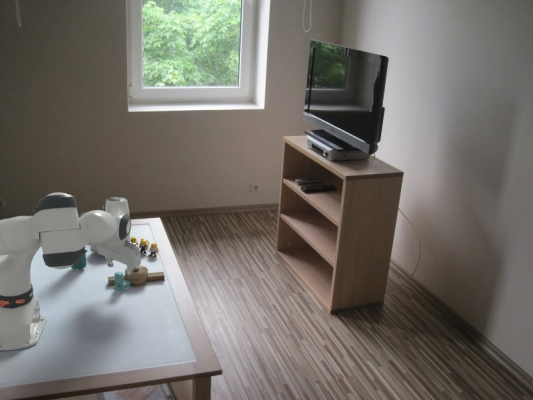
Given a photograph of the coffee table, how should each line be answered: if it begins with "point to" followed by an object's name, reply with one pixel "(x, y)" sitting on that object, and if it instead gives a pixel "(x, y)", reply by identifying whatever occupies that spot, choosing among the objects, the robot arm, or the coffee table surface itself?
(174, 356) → the coffee table surface
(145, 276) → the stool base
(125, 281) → the teal crank handle
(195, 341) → the coffee table surface
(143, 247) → the figurine set
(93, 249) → the grey clay mound
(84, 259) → the beverage bottle
